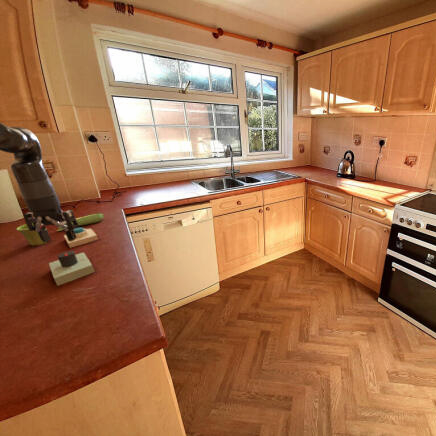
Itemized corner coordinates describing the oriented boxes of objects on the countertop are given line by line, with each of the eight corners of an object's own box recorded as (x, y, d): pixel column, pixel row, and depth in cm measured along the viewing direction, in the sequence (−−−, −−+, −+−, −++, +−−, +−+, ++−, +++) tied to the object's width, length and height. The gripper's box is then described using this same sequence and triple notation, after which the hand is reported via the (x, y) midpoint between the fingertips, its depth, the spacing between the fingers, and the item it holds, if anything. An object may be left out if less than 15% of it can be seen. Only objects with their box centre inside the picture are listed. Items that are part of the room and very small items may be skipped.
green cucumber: (106, 221, 131) (103, 213, 130) (56, 233, 118) (53, 224, 117) (104, 218, 135) (101, 211, 133) (56, 230, 122) (52, 221, 120)
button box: (65, 239, 111) (62, 231, 110) (92, 232, 118) (89, 224, 116) (70, 247, 104) (66, 239, 102) (98, 239, 111) (95, 231, 109)
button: (73, 232, 109) (71, 229, 109) (83, 230, 112) (81, 226, 111) (74, 235, 107) (73, 231, 106) (84, 232, 110) (83, 228, 109)
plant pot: (29, 250, 103) (19, 231, 100) (22, 245, 107) (13, 227, 104) (57, 241, 110) (49, 223, 107) (50, 236, 115) (42, 219, 112)
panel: (51, 270, 88) (48, 262, 87) (86, 258, 95) (83, 251, 94) (57, 285, 79) (53, 277, 78) (94, 272, 86) (91, 264, 85)
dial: (60, 264, 86) (56, 253, 84) (76, 259, 89) (72, 248, 87) (62, 268, 83) (57, 258, 81) (79, 263, 86) (74, 252, 84)
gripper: (4, 199, 73) (28, 246, 79) (51, 197, 73) (72, 245, 79) (28, 192, 80) (49, 236, 86) (72, 190, 80) (89, 234, 86)
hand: (60, 240), depth 82 cm, fingers open, 8 cm apart
